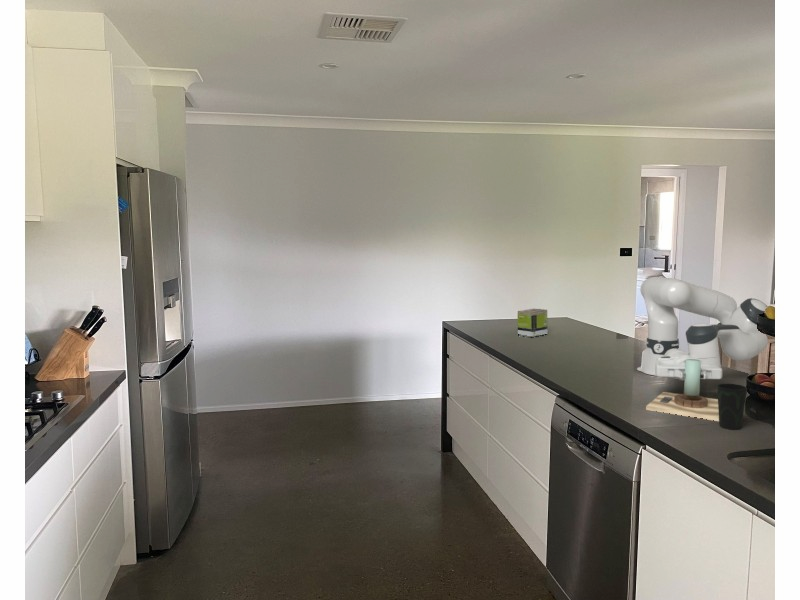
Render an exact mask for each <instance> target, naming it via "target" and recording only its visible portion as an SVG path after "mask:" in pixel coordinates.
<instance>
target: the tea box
mask: <svg viewBox="0 0 800 600" xmlns="http://www.w3.org/2000/svg"><path fill="white" fill-rule="evenodd" d="M548 332H549V331H548V309H544V308H543V309H541V308H529V309H522V310H521V309H520V310H518V311H517V335H518V334H521V335H527V336H536V335H542V334H548Z"/></svg>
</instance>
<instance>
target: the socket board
mask: <svg viewBox="0 0 800 600" xmlns="http://www.w3.org/2000/svg"><path fill="white" fill-rule="evenodd" d="M645 410H646V411H652V412H656V411H657V412H658V413H663V412H664V413H665V414H669V413H670V415H675V414H677V416H681V415H682V416H683V417H688V416H690V417H689V418H694V417H697V418H696V419H700V418H703V419H702V420H706V419H707V420H708V421H713V420H714V421H715V422H719V410H718V398H710V397H705V396H702V395H698V396H691V395H686V394H684V393H677V392H676V393H674V392H668V391H663V392H661V393H660V394H659V395H657V396H656V397H655V398H654V399H653V400H652V401H650V402H649V403H648V404H647V405H645Z"/></svg>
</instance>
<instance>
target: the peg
mask: <svg viewBox="0 0 800 600" xmlns="http://www.w3.org/2000/svg"><path fill="white" fill-rule="evenodd" d="M700 371H701V361H700V360H696V359H686V360H685V373H686V375H685V381H684V383H683V384H684V385H683V394H686V395H691V396H700V393H701V392H700V391H701V379H700Z"/></svg>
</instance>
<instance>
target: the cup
mask: <svg viewBox="0 0 800 600" xmlns="http://www.w3.org/2000/svg"><path fill="white" fill-rule="evenodd" d="M716 390H717V399H718V410H719V421H718V423H719V424H718V425H719V427H720V428H722V429H725V430H732V431H736V430H741V429H742V424H743V417H744V412H745V406H746V401H747V392H748V387H746V386H745V385H742V384H737V383H718V384H717V385H716Z"/></svg>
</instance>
